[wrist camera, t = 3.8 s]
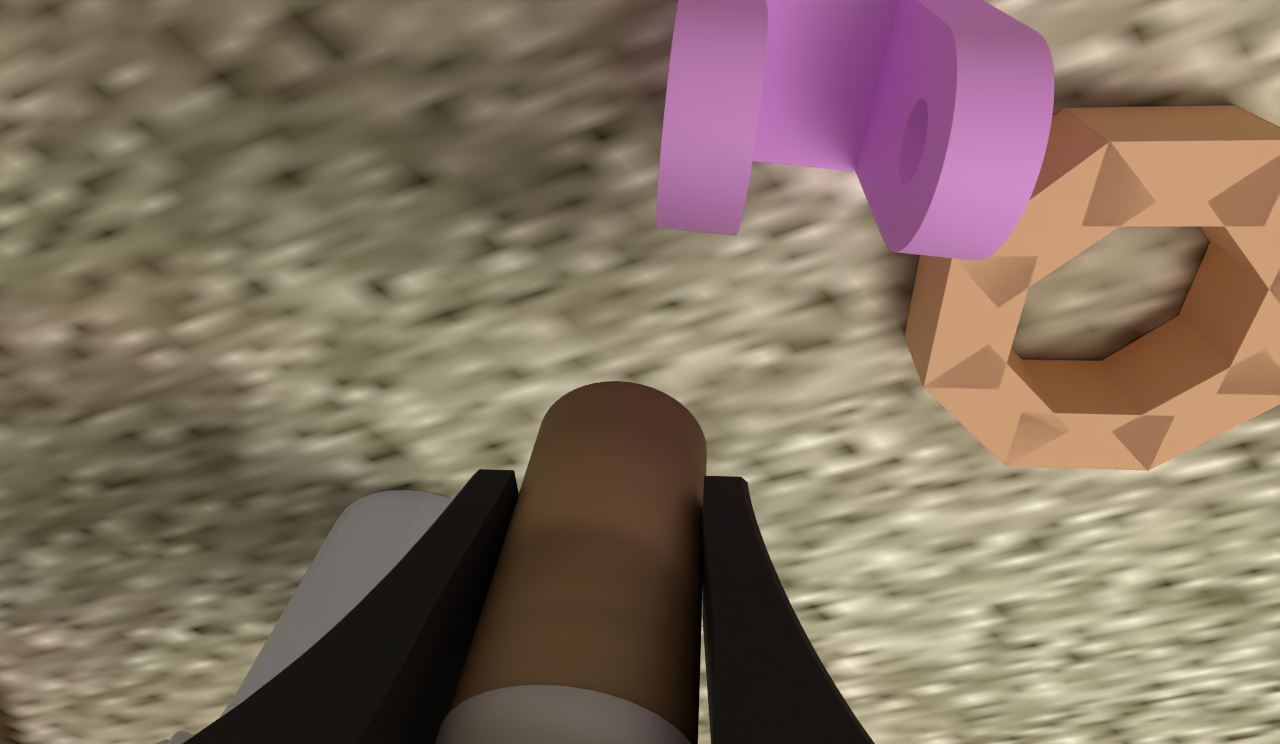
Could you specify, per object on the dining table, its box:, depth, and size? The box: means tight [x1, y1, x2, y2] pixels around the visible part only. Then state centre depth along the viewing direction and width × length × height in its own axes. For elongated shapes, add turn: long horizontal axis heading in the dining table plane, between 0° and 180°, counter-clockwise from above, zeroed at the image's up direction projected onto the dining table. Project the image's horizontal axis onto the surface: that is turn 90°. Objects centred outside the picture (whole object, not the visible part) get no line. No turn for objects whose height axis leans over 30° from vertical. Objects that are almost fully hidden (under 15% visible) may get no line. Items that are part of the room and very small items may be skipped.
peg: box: [435, 381, 707, 744], centre depth 11 cm, size 3×3×7 cm
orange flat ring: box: [904, 105, 1280, 471], centre depth 18 cm, size 9×9×2 cm
